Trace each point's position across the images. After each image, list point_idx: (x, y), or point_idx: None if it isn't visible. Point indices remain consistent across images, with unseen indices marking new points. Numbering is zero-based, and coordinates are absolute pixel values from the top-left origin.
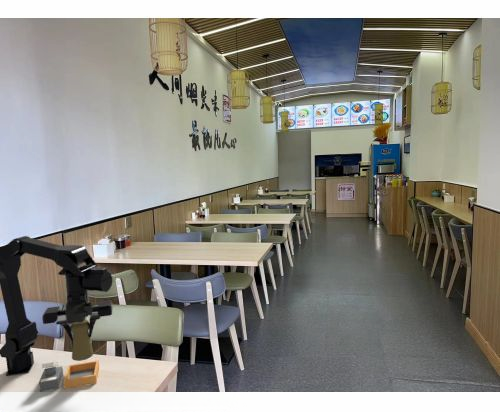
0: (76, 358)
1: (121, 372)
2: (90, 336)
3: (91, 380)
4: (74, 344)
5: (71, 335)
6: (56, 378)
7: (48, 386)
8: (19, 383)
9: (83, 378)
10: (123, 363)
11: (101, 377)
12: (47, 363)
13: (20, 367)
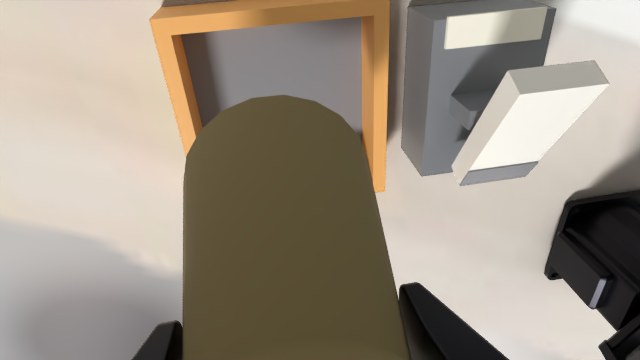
0: (317, 112)
1: (17, 107)
2: (157, 335)
3: (190, 9)
4: (362, 220)
5: (436, 338)
6: (443, 29)
7: (477, 5)
8: (609, 116)
9: (245, 7)
10: (56, 207)
11: (149, 75)
12: (565, 87)
13: (619, 220)
